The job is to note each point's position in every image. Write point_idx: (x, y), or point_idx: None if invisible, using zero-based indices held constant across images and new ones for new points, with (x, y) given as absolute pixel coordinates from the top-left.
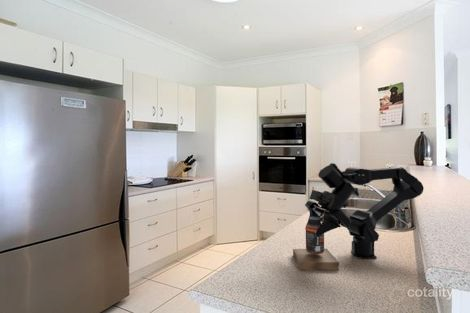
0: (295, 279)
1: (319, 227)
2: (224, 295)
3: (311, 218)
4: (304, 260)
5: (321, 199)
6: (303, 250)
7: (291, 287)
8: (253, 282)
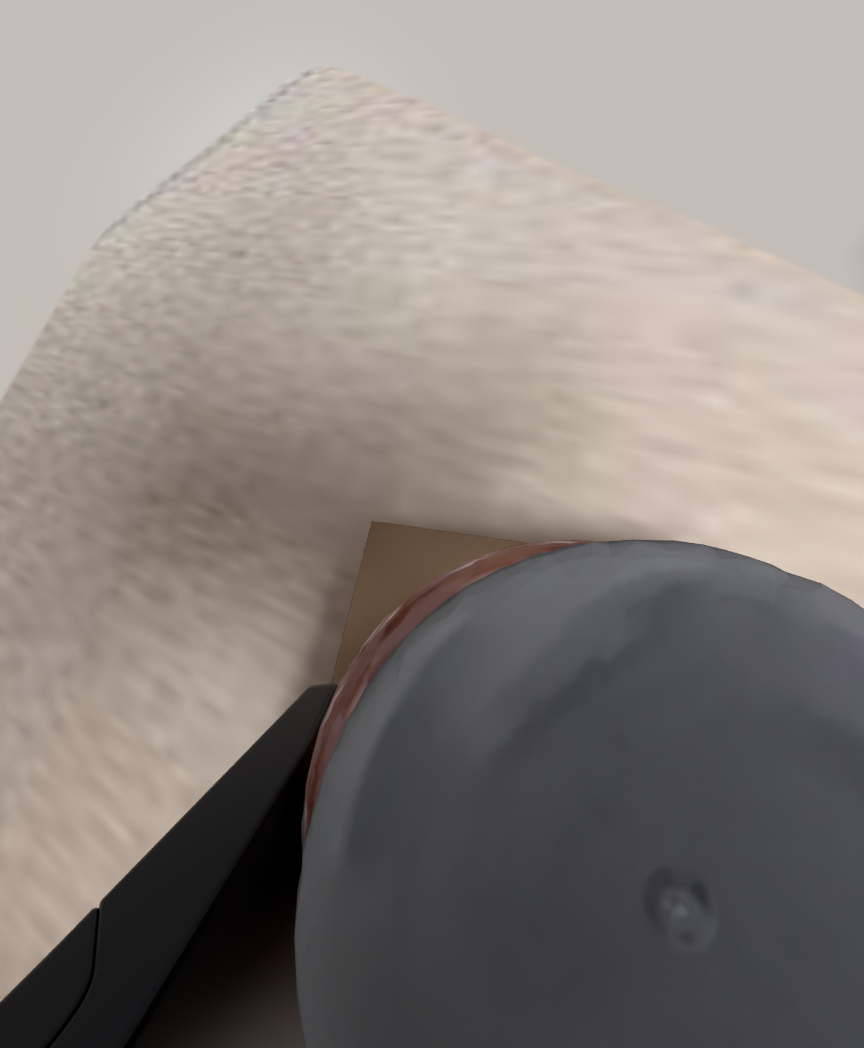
0: (267, 463)
1: (243, 816)
2: (236, 148)
3: (575, 636)
4: (405, 571)
5: None
6: None
7: (187, 413)
8: (310, 251)
